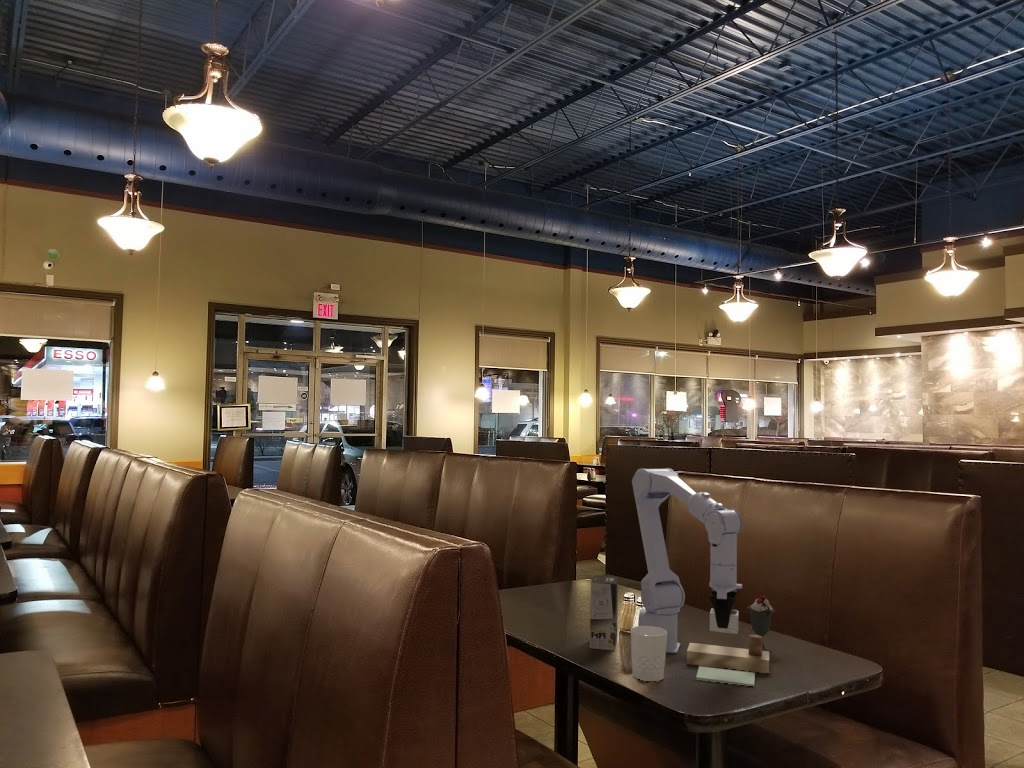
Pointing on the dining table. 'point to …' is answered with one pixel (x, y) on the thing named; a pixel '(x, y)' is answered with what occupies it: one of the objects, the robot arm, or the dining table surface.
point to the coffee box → (603, 613)
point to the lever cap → (732, 622)
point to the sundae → (761, 617)
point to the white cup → (648, 652)
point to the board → (725, 676)
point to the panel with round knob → (731, 656)
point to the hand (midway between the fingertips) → (723, 625)
